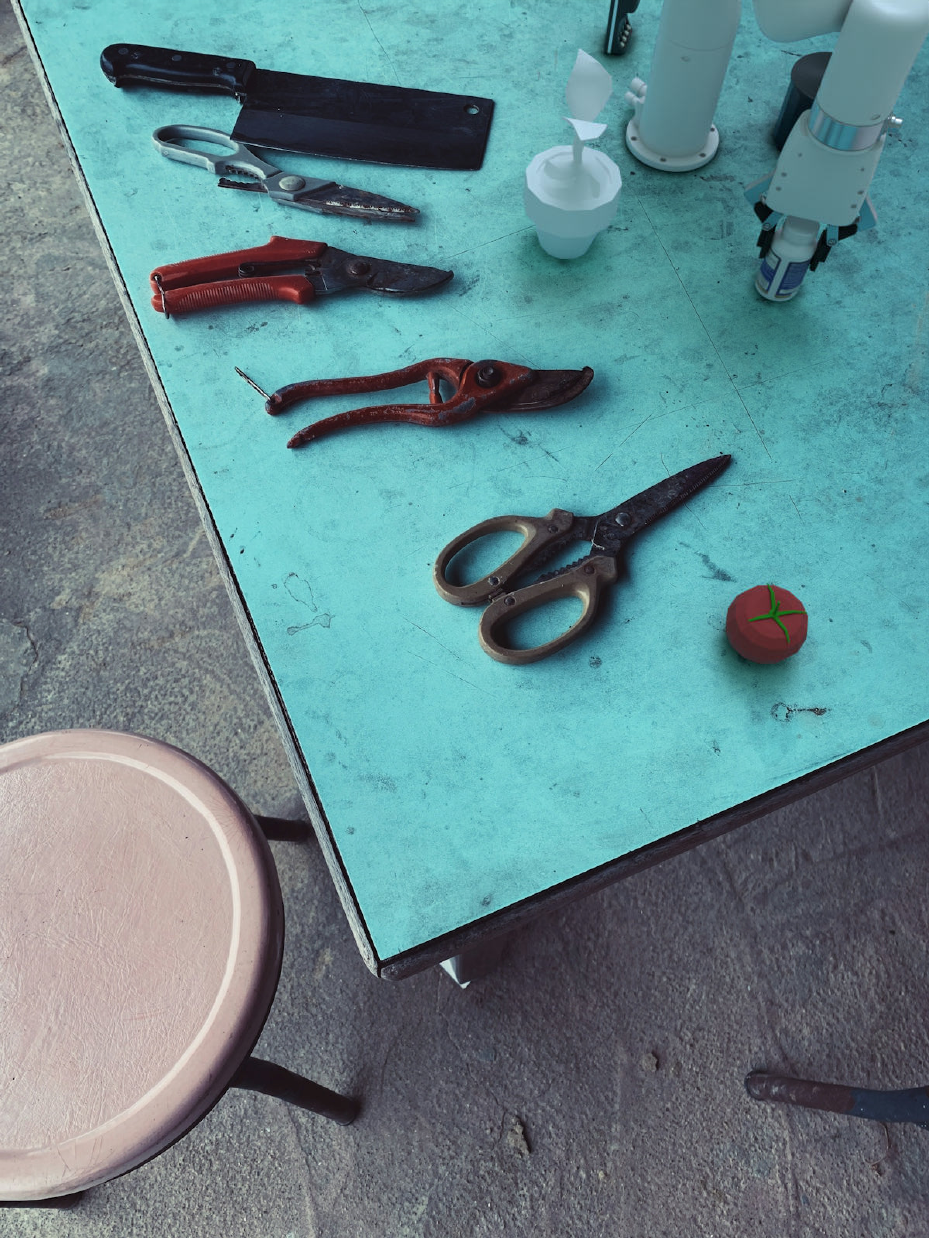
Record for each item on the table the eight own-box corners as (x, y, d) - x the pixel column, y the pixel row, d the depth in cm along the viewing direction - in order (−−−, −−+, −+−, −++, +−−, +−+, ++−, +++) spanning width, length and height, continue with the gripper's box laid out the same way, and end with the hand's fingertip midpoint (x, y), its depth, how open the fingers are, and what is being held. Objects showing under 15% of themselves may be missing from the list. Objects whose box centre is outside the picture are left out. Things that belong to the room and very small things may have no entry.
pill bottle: (802, 279, 116) (831, 215, 107) (790, 308, 114) (819, 245, 105) (761, 265, 117) (787, 200, 108) (748, 294, 115) (773, 230, 106)
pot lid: (771, 82, 121) (782, 47, 117) (824, 49, 124) (837, 14, 120) (836, 124, 117) (850, 90, 113) (889, 89, 120) (905, 54, 116)
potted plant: (527, 205, 121) (544, 8, 99) (615, 218, 120) (652, 23, 98) (509, 274, 116) (523, 83, 93) (601, 289, 115) (638, 99, 92)
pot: (757, 137, 128) (777, 78, 120) (805, 107, 131) (826, 47, 123) (813, 175, 125) (837, 117, 117) (860, 143, 127) (886, 84, 120)
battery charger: (627, 59, 135) (642, -24, 125) (602, 54, 135) (614, -29, 125) (637, 31, 138) (653, -52, 128) (613, 26, 138) (626, -57, 128)
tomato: (788, 604, 96) (814, 568, 89) (801, 673, 92) (829, 641, 86) (711, 605, 96) (731, 569, 89) (722, 674, 92) (744, 643, 85)
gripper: (935, 114, 95) (863, 253, 111) (770, 78, 97) (724, 219, 114) (927, 161, 92) (855, 297, 108) (757, 123, 94) (711, 261, 110)
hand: (788, 256), depth 111 cm, fingers closed on pill bottle, 5 cm apart
